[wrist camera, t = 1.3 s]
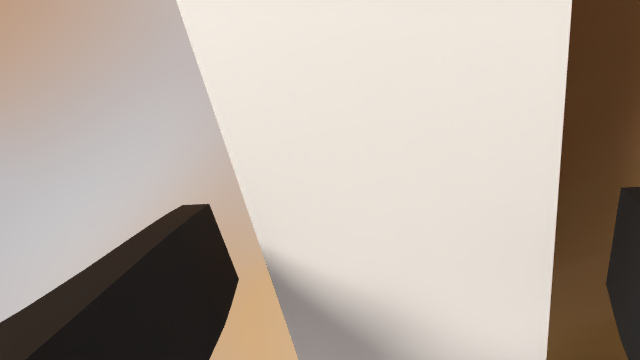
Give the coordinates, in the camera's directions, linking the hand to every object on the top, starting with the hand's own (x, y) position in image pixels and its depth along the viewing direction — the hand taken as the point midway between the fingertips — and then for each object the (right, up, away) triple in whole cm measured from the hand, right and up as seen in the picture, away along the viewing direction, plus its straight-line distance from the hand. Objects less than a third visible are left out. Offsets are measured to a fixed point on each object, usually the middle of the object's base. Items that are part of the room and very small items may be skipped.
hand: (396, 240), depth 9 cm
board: (0, +1, +2) cm, 2 cm away
